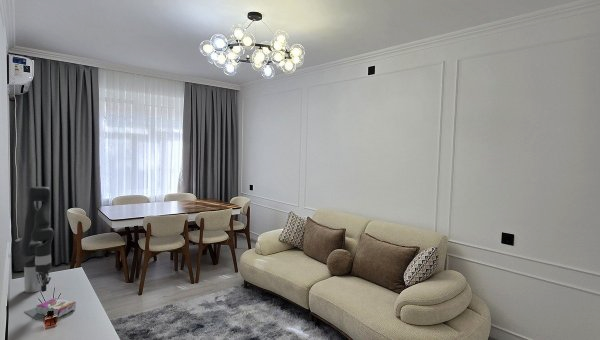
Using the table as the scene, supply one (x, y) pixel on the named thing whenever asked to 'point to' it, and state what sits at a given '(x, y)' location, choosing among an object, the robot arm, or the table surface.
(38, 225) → the robot arm
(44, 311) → the candy bar box
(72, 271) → the table surface
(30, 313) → the mat
